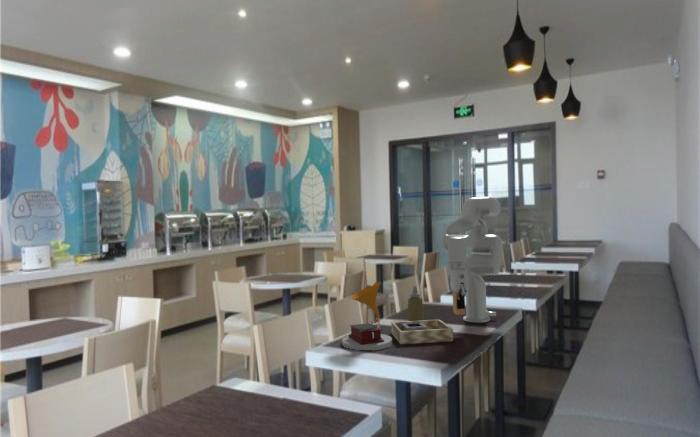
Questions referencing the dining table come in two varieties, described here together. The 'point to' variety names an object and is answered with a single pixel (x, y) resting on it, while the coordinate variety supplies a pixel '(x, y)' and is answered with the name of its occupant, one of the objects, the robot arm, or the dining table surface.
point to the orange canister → (455, 310)
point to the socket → (413, 326)
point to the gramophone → (367, 325)
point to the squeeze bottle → (415, 306)
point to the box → (423, 332)
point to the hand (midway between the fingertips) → (459, 306)
